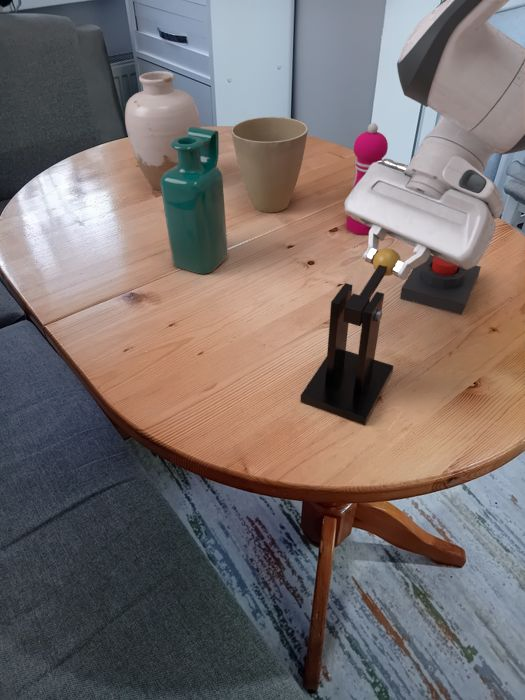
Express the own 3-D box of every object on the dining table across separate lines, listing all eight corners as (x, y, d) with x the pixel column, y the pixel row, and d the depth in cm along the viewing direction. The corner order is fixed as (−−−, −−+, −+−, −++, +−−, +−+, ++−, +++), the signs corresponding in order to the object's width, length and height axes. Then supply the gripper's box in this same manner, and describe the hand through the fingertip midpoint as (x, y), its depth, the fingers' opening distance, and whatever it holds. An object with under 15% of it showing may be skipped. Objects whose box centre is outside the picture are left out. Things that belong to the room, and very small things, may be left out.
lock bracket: (332, 353, 78) (340, 265, 68) (392, 372, 75) (409, 283, 65) (300, 402, 71) (303, 312, 61) (365, 425, 68) (379, 334, 58)
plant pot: (318, 199, 116) (321, 123, 106) (281, 227, 107) (281, 147, 97) (260, 184, 123) (258, 111, 112) (221, 210, 113) (215, 133, 103)
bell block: (420, 263, 96) (424, 243, 93) (478, 277, 92) (483, 257, 90) (399, 298, 88) (403, 278, 85) (461, 315, 84) (467, 294, 82)
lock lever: (377, 263, 74) (379, 240, 72) (402, 269, 73) (406, 246, 70) (337, 323, 65) (338, 300, 63) (365, 332, 64) (368, 308, 62)
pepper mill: (341, 234, 104) (349, 129, 91) (345, 217, 110) (354, 115, 97) (379, 238, 103) (393, 131, 90) (381, 220, 108) (395, 117, 95)
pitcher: (208, 277, 94) (195, 152, 80) (168, 266, 97) (148, 143, 83) (235, 251, 101) (228, 131, 86) (197, 241, 104) (183, 124, 89)
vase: (176, 203, 116) (161, 90, 101) (122, 188, 123) (100, 80, 108) (219, 177, 126) (210, 70, 111) (166, 164, 133) (152, 62, 118)
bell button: (435, 260, 90) (437, 251, 89) (459, 266, 88) (461, 256, 87) (428, 272, 87) (430, 262, 86) (453, 278, 86) (455, 268, 84)
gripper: (368, 143, 73) (315, 232, 75) (507, 189, 61) (441, 293, 63) (385, 166, 78) (335, 248, 80) (516, 213, 67) (454, 308, 68)
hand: (382, 269), depth 71 cm, fingers closed on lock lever, 3 cm apart
